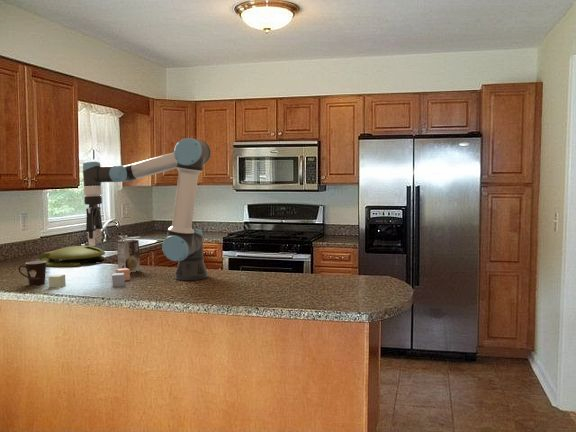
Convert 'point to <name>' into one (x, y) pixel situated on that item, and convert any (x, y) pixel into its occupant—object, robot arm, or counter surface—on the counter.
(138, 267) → the coffee box
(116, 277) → the slate cube
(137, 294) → the counter surface
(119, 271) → the terracotta cube
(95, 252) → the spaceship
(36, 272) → the coffee mug
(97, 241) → the game die
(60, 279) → the sage cube
